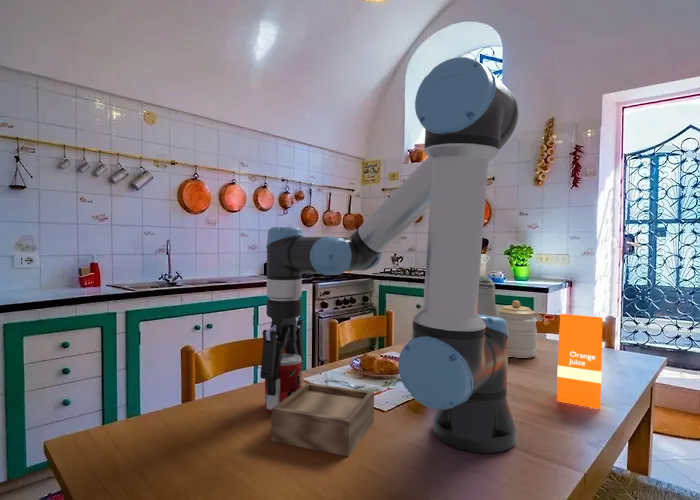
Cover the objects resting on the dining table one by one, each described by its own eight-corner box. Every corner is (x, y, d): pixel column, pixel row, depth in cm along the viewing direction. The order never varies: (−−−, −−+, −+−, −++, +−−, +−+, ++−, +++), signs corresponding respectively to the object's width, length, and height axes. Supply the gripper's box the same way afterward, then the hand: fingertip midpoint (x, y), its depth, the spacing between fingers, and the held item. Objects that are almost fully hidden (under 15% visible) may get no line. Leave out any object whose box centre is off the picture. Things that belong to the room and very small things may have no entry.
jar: (490, 348, 147) (491, 297, 147) (530, 349, 146) (531, 298, 145) (498, 358, 135) (499, 302, 134) (541, 360, 133) (543, 304, 132)
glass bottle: (475, 394, 103) (477, 278, 102) (448, 381, 112) (450, 274, 111) (506, 389, 107) (509, 277, 106) (478, 376, 116) (480, 274, 116)
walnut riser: (373, 421, 87) (374, 392, 87) (348, 456, 73) (349, 421, 73) (306, 410, 92) (307, 382, 92) (271, 441, 78) (271, 408, 78)
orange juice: (559, 392, 106) (561, 311, 105) (600, 399, 101) (603, 315, 101) (556, 402, 99) (558, 316, 98) (600, 410, 94) (603, 320, 94)
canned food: (294, 416, 89) (295, 364, 89) (258, 412, 91) (259, 361, 90) (305, 402, 97) (306, 354, 96) (272, 399, 98) (272, 351, 98)
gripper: (290, 291, 104) (289, 384, 105) (242, 303, 85) (241, 417, 85) (319, 293, 101) (317, 388, 102) (275, 306, 82) (274, 423, 83)
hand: (283, 401), depth 94 cm, fingers closed on canned food, 8 cm apart
